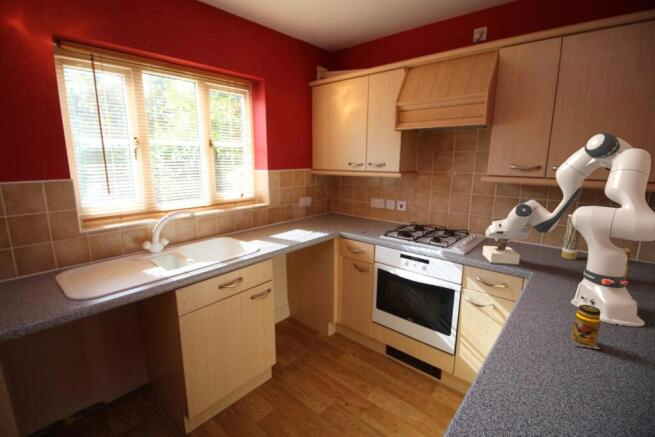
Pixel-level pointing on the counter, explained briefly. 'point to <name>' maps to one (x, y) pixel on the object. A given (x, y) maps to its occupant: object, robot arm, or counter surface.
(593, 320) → the condiment
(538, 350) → the counter surface
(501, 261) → the socket block
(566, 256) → the bark patterned cylinder
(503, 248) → the peg
